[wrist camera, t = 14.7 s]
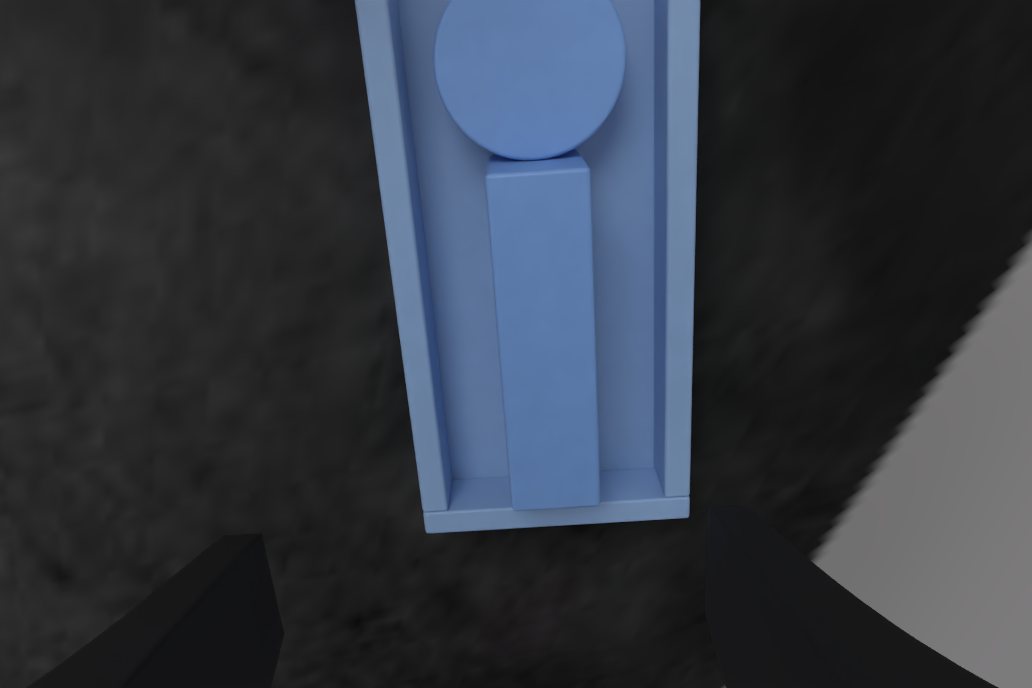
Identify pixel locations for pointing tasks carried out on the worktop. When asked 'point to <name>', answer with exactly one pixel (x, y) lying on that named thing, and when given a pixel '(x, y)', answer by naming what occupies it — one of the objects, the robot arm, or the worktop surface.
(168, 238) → the worktop surface
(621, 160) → the blue rest
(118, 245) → the worktop surface
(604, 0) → the blue spoon
